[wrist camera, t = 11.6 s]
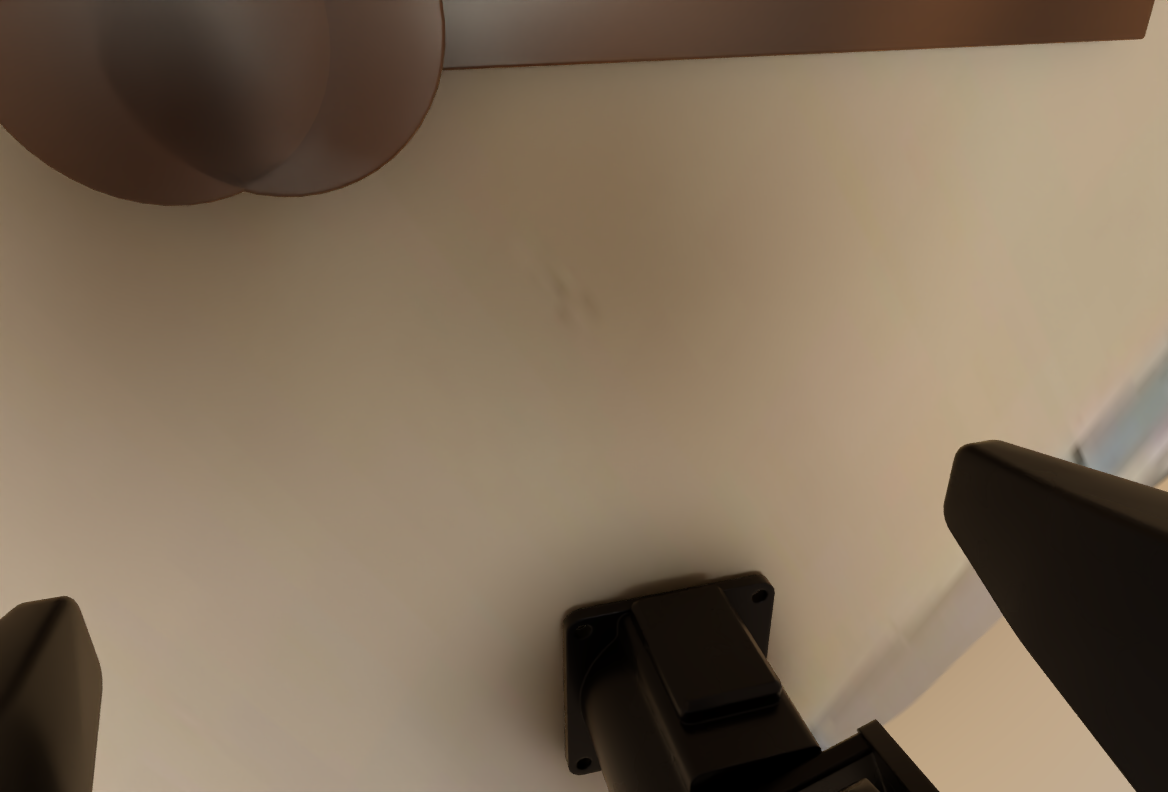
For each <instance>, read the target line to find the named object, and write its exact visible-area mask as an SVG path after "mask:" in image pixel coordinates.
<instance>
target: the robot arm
mask: <svg viewBox="0 0 1168 792" xmlns="http://www.w3.org/2000/svg"><path fill="white" fill-rule="evenodd" d="M944 517H945V521H946V523H947V526H948V528H949V530H950V531H951V533H952V535H953V536H954V538H955V539H956V541H957V542H958V544H959V546H960V547H961V549H962V550H963V552H964V554H965V555H966V557H967V558H968V560H969V562H970V563H971V565H972V566H973V568H974V569H975V571H976V573H977V574H978V576H979V577H980V579H981V581H982V582H983V584H984V585H985V587H986V589H987V590H988V592H989V593H990V595H991V596H992V598H993V600H994V601H995V603H996V604H997V606H998V608H999V609H1000V611H1001V612H1002V614H1003V616H1004V617H1005V619H1006V620H1007V622H1008V623H1009V625H1010V626H1011V628H1012V629H1013V631H1014V632H1015V634H1016V635H1017V637H1018V638H1019V640H1020V641H1021V642H1022V644H1023V645H1024V646H1025V648H1026V649H1027V651H1028V652H1029V653H1030V655H1031V656H1032V657H1033V659H1034V660H1035V661H1036V662H1037V664H1038V665H1039V666H1040V668H1041V669H1042V670H1043V671H1044V673H1045V674H1046V675H1047V677H1048V678H1049V679H1050V680H1051V682H1052V683H1053V684H1054V686H1055V687H1056V688H1057V690H1058V691H1059V692H1060V693H1061V695H1062V696H1063V697H1064V699H1065V700H1066V701H1067V703H1068V704H1069V705H1070V706H1071V708H1072V709H1073V710H1074V712H1075V713H1076V714H1077V715H1078V717H1079V718H1080V719H1081V721H1082V722H1083V723H1084V725H1085V726H1086V727H1087V728H1088V730H1089V731H1090V732H1091V734H1092V735H1093V736H1094V737H1095V739H1096V740H1097V741H1098V742H1099V744H1100V745H1101V747H1102V748H1103V749H1104V751H1105V752H1106V753H1107V754H1108V756H1109V757H1110V758H1111V760H1112V761H1113V762H1114V763H1115V765H1116V766H1117V767H1118V769H1119V770H1120V771H1121V773H1122V774H1123V775H1124V776H1125V778H1126V779H1127V780H1128V782H1129V783H1130V784H1131V785H1132V787H1133V788H1134V789H1135V791H1136V792H1168V492H1166V491H1162V490H1159V489H1156V488H1153V487H1150V486H1146V485H1143V484H1140V483H1137V482H1133V481H1130V480H1127V479H1124V478H1120V477H1117V476H1114V475H1111V474H1107V473H1104V472H1101V471H1098V470H1094V469H1091V468H1088V467H1085V466H1081V465H1078V464H1075V463H1072V462H1068V461H1065V460H1062V459H1059V458H1055V457H1052V456H1049V455H1046V454H1042V453H1039V452H1036V451H1033V450H1029V449H1026V448H1023V447H1020V446H1016V445H1013V444H1010V443H1007V442H1003V441H999V440H988V441H982V442H976V443H970V444H966V445H964V446H962V447H960V449H959V450H958V451H957V453H956V455H955V457H954V461H953V466H952V470H951V474H950V479H949V483H948V488H947V492H946V496H945V501H944ZM758 590H759V591H758ZM756 591H758V592H757V593H755V592H756ZM754 593H755V594H754ZM774 594H775V592H774V588H773V586H772V585H771V584H770V582H769V581H768V579H767V578H766V577H765V576H762V575H753V576H747V577H742V578H737V579H732V580H727V581H722V582H717V583H712V584H706V585H701V586H696V587H691V588H686V589H681V590H676V591H671V592H665V593H660V594H655V595H650V596H645V597H640V598H635V599H630V600H624V601H619V602H614V603H609V604H604V605H599V606H594V607H589V608H583V609H579V610H576V611H573V612H571V613H570V614H569V615H567V617H566V618H565V619H564V621H563V671H564V717H565V758H566V761H567V764H568V767H569V770H570V772H571V773H573V774H576V775H584V774H588V773H592V772H596V771H600V770H602V772H603V775H604V778H605V781H606V784H607V787H608V790H609V792H939V791H938V790H937V789H936V788H935V786H934V785H933V784H932V783H931V782H930V781H929V779H928V778H927V777H926V776H925V775H924V774H923V772H922V771H921V770H920V769H919V768H918V767H917V766H916V764H915V763H914V762H913V761H912V760H911V759H910V758H909V756H908V755H907V754H906V753H905V752H904V751H903V750H902V748H901V747H900V746H899V745H898V744H897V743H896V741H895V740H894V739H893V738H892V737H891V736H890V735H889V734H888V732H887V731H886V730H885V729H884V728H883V727H882V725H881V724H880V723H879V722H878V721H877V720H876V719H875V720H873V721H871V722H869V723H867V724H866V725H864V726H862V727H860V728H858V729H857V731H858V733H857V734H855V735H853V736H851V737H849V738H847V739H845V740H844V741H842V742H840V743H838V744H836V745H834V746H832V747H830V748H828V749H827V750H825V751H823V752H822V750H821V748H820V746H819V745H818V743H817V741H816V740H815V738H814V737H813V735H812V733H811V732H810V730H809V729H808V727H807V725H806V724H805V722H804V721H803V719H802V717H801V716H800V714H799V713H798V711H797V709H796V708H795V706H794V705H793V703H792V701H791V700H790V698H789V697H788V695H787V693H786V692H785V690H784V689H783V687H782V685H781V682H780V680H779V678H778V677H777V675H776V674H775V672H774V671H773V669H772V667H771V666H770V664H769V663H768V661H767V659H766V658H767V650H768V642H769V634H770V626H771V618H772V610H773V602H774ZM582 625H586V626H585V627H584V628H581V629H577V628H578V627H580V626H582ZM101 699H102V672H101V667H100V663H99V660H98V657H97V654H96V652H95V649H94V646H93V643H92V640H91V638H90V635H89V632H88V629H87V627H86V624H85V621H84V618H83V616H82V613H81V610H80V608H79V606H78V604H77V603H76V602H75V600H74V599H72V598H70V597H68V596H60V597H54V598H48V599H42V600H36V601H30V602H25V603H22V604H19V605H17V606H16V607H15V608H13V609H12V610H11V611H9V612H8V613H7V614H6V615H5V616H4V617H2V618H1V619H0V792H92V788H93V778H94V768H95V758H96V748H97V738H98V728H99V718H100V708H101Z"/></svg>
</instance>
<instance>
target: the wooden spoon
mask: <svg viewBox="0 0 1168 792" xmlns="http://www.w3.org/2000/svg"><path fill="white" fill-rule="evenodd" d="M1154 1H1155V0H0V124H1V125H2V126H3V127H4V128H5V129H6V130H7V132H9V133H10V134H11V135H12V136H13V137H14V138H15V139H16V140H17V141H18V142H19V143H20V144H21V145H23V146H24V147H25V148H26V149H27V150H28V151H29V152H31V153H32V154H34V155H35V156H36V157H38V158H39V159H40V160H42V161H43V162H44V163H46V164H47V165H48V166H50V167H51V168H53V169H55V170H56V171H58V172H60V173H62V174H63V175H65V176H67V177H68V178H70V179H72V180H74V181H76V182H78V183H80V184H83V185H85V186H87V187H89V188H91V189H93V190H96V191H99V192H102V193H105V194H108V195H111V196H114V197H117V198H120V199H125V200H129V201H134V202H139V203H144V204H154V205H163V206H183V205H195V204H203V203H210V202H214V201H218V200H222V199H225V198H229V197H232V196H235V195H237V194H240V193H242V192H248V193H252V194H257V195H265V196H274V197H303V196H310V195H317V194H323V193H327V192H330V191H334V190H338V189H341V188H344V187H346V186H349V185H351V184H353V183H356V182H358V181H360V180H362V179H364V178H366V177H367V176H369V175H371V174H372V173H374V172H376V171H377V170H379V169H380V168H381V167H383V166H384V165H385V164H387V163H388V162H389V161H390V160H392V159H393V158H394V157H395V156H396V155H397V154H398V153H399V152H400V151H401V150H402V149H403V148H404V147H405V146H406V145H407V144H408V143H409V141H410V140H411V138H412V137H413V136H414V134H415V133H416V132H417V130H418V129H419V128H420V126H421V124H422V122H423V121H424V119H425V117H426V115H427V113H428V111H429V110H430V108H431V105H432V102H433V100H434V97H435V95H436V92H437V89H438V86H439V82H440V77H441V73H442V70H461V69H484V68H506V67H529V66H551V65H574V64H596V63H619V62H641V61H663V60H686V59H708V58H731V57H753V56H776V55H798V54H821V53H843V52H865V51H888V50H910V49H933V48H955V47H978V46H1000V45H1023V44H1045V43H1067V42H1090V41H1112V40H1135V39H1143V38H1144V37H1145V34H1146V30H1147V26H1148V23H1149V19H1150V16H1151V12H1152V8H1153V5H1154Z"/></svg>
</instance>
